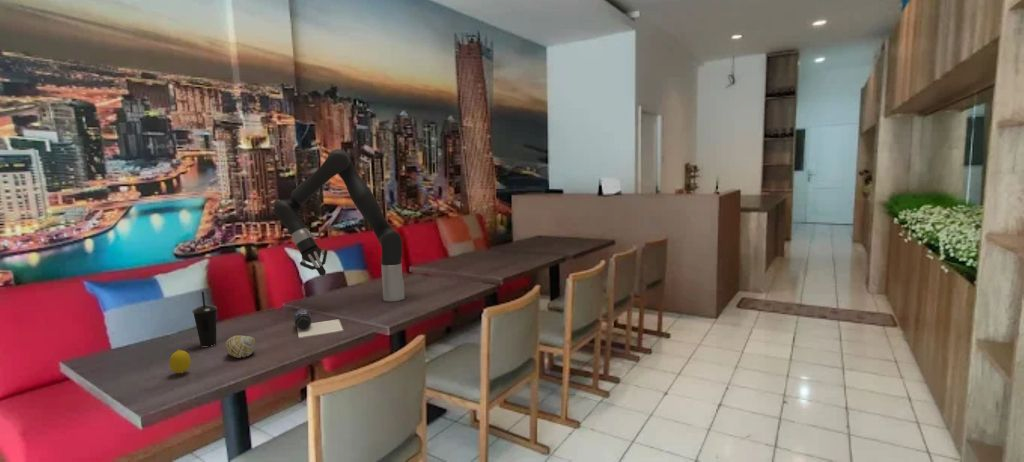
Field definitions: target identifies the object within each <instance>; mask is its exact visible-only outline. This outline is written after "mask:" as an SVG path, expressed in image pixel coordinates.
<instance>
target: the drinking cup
mask: <svg viewBox="0 0 1024 462" xmlns="http://www.w3.org/2000/svg"><path fill="white" fill-rule="evenodd" d="M201 297H202V305H200V306H198V307H196V308H195V309H193V310H191V312H192V314H193V317H194V318H193V319H194V321H195V326H196V331H197V335H198V339H199V343H200V347H201V346H211V345H214V344H216V345H217V310H218V307H217V306H215V305H210V304H206V300H205V292H204V291H201ZM214 346H215V345H214Z"/></svg>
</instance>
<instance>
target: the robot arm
mask: <svg viewBox="0 0 1024 462" xmlns="http://www.w3.org/2000/svg"><path fill="white" fill-rule="evenodd" d="M337 175H339V177H340V178H341V180H342V181H343V183H344V185H345V187H346V189H347V192H348V195H349V196H350V199H351V201H352V202H353V204H354V205H355V207H356V209H357V210H358V211H359V213H360V214H361V215H362V217H363V218H364V220H365V221H366V222H367V224H369V225H370V227H371V229H372V231H373V233H374V234H375V237H376V238H377V241H378V242H379V244H380V245H381V258H380V264H381V267H380V268H381V279H382V297H383V301H384V302H388V303H389V302H399V301H401V300H405V284H404V283H405V282H404V278H403V267H402V259H403V244H402V243H403V241H402V236H401V234H400V233H399V232H398V231H396V230H395V229H393V227H392V226H391V225H390V223H388V221H387V219H386V218H385V216H384V214H383V212H382V211H383V210H382V209H381V207H380V205H379V202H378V200H377V199H376V197H375V196H374V194H373V192H372V190H371V189H370V188H369V187H368V184H367V183H366V182H365V181H364V179H363V178H362V177H361V176H360V174H359V173H358V171H357V169H356V167H355V166H354V163H353V161H352V159H351V157H350V155H349V154H348V152H347V151H345V150H344V149H340V148H335V149H333V150H331V152H330V153H329V154H328V155H327V158H326V159H325V160H324V161H323V163H322V164H321V165H320V167H318V168H317V169H316V170H315V171H314V172H313V173H312V174H311V175H310V176H308V177H306V179H305V180H303V181H302V182H301V183H300V184H299V185H298V186H297V187H295V188H294V189H293V190H292V191H291V193H290V197H289V199H288V200H278V201H276V202H275V203H274V205H273V212H274V214H275V215H276V217H277V219H278V220H279V221H280V222H281V223H282V224H283V226H284V227H285V228H286V229H287V231H288V233H289V235H290V237H291V238H292V241H293V243H294V245H295V246H296V248H297V250H298V252H299V253H300V255H301V261H300V262H299V265H300V267H304V268H306V269H309V270H312V271H314V270H316V271H317V273H318V274H319V276H321V277H323V276H325V275H326V273H327V270H326V269H325V267H324V265H325V264H326V262H327V255H328V250H327V249H321V247H319V246H318V244H317V243H316V241H315V238H314V237H313V235H312V233H310V231H309V230H308V228H307V227H306V225H305V223H304V222H303V220H302V219H301V218H300V217H298V216H297V214H298V212H300V210H301V209H302V207H303V206H304V205H305V203H306V202H307V201H309V199H311V198H312V197H313V196H314V195H315V194H316V193H317V192H318V191H319V190H320V189H321V188H322V187H323V185H325V184H326V183H327V182H328V181H330V180H331V179H332V178H334V177H335V176H337ZM321 255H322V261H321ZM307 262H308V263H307ZM309 263H310V264H309ZM311 264H312V265H311Z"/></svg>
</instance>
